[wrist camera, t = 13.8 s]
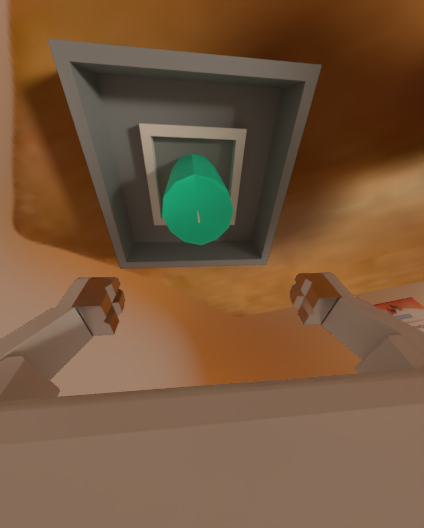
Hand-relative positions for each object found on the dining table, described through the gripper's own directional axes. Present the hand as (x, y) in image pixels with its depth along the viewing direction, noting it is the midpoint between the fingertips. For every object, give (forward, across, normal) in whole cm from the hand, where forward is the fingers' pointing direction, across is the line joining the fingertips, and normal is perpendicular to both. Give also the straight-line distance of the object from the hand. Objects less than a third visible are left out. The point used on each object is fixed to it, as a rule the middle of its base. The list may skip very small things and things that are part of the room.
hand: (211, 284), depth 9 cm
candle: (+19, 0, 0) cm, 19 cm away
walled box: (+20, 0, 0) cm, 20 cm away
